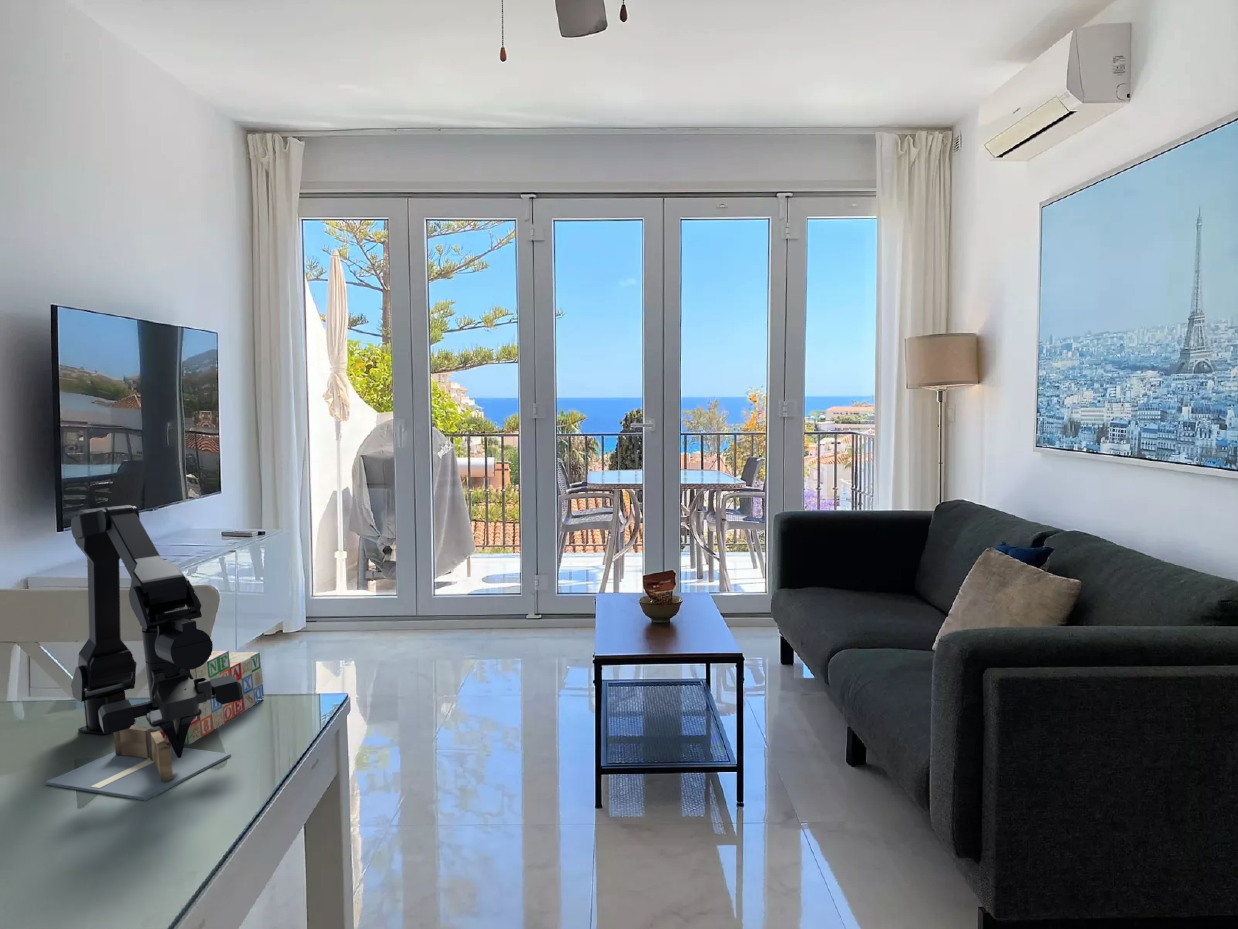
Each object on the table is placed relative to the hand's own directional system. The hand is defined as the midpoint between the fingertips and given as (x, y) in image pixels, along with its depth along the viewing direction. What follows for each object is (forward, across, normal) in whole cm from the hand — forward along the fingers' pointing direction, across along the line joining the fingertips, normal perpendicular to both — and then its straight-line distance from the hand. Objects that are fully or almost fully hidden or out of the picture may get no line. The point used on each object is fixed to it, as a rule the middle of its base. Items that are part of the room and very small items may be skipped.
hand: (178, 757), depth 130 cm
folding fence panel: (+2, -2, +2) cm, 3 cm away
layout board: (+2, -5, +5) cm, 7 cm away
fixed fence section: (+2, -4, +10) cm, 12 cm away
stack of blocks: (+3, +9, +20) cm, 22 cm away
